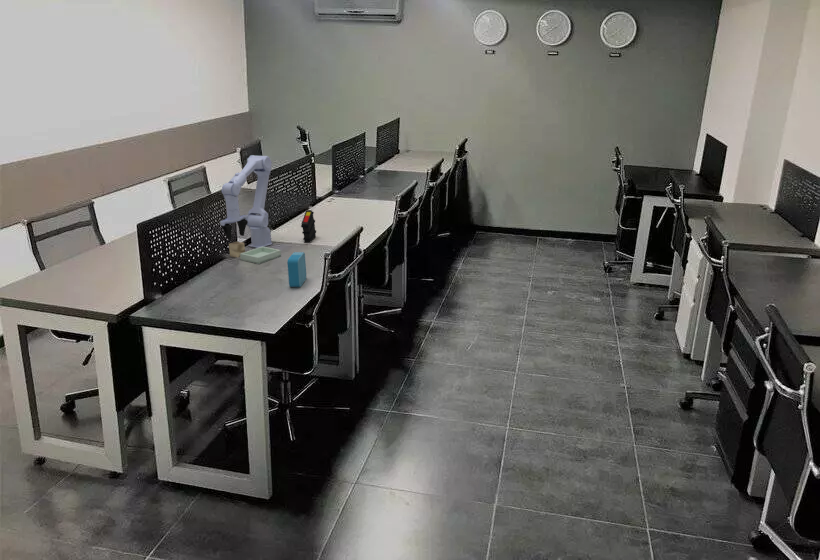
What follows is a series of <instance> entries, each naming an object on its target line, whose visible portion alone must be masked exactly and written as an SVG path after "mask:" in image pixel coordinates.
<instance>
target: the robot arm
mask: <svg viewBox="0 0 820 560" xmlns="http://www.w3.org/2000/svg"><path fill="white" fill-rule="evenodd" d="M272 163H273V162H272V160H271V157H270V156H268V155H256V154H255V155H254V154H251V155H249V157H247V160H246V164H245V166H244V167H243V168H242V170H241V171H240V172H235V173H234V175H233V176H232V177H231V178H230V180H229V181H228V182H225V183H224V184H223V185H222V186H221V193H222V195H223V199H225V207H226V218H225V219H222V220H219V221H220V222H219V224H220V225H219V226H220V228H222V230H223V231H224V234H225V236H226V238H227V240H229V241H231V240H232V238H233V237H232V229H233V225H230V224H234V223H237V226H238V232H239V233H238V234H239V236H242V237H244V236H245V231H246V227H248V229H249V230H250V239H251V240H250V241H251V244H248V245H247V247H251V248H254V249H256V248H259V247H262V246H263V247H268V246H270V245H273V243H274V242H272V234H271V233H272V232H271V230H270V227H268V226H269V213H268V212H267V211H266V210H265V205H266V198H267V192H268V185H269V180H270V179H269V178H270V174H271V171H272V165H273V164H272ZM252 173H255V174H256V176H257V179H256V187H255V192H254V193H255V194H254V200H253V204H252V205H253V206H252V208H250V209H249V210H248V212H247V214H243V215H240V214H241V211H240V204H239V195H240V194H241V189H242V187H243V186H244V184H245V183H246V182H247V178H248V176H250V174H252Z"/></svg>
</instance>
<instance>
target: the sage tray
mask: <svg viewBox="0 0 820 560" xmlns="http://www.w3.org/2000/svg"><path fill="white" fill-rule="evenodd" d="M277 257H278V258H281V257H282V250H281V249H276V248H273V247H268V246H265V247H263V246H262V247H259V248H253V249H250V250H247V251H245V252H244V253H241V254H240V257H239V258H240V261H243V262H248V263H252V264H253V263H254V264H257V265H261V264H264V263H266V262H268V261H272V260H274V259H277Z"/></svg>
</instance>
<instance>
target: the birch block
mask: <svg viewBox="0 0 820 560" xmlns="http://www.w3.org/2000/svg"><path fill="white" fill-rule="evenodd" d="M228 248H229V257H232V258H236V257H237V258H240V254H241V253H244V252H246V248H245V242H241V241H234V242H231V243H230V242H229V243H228ZM237 258H236V259H237Z"/></svg>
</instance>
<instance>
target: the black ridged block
mask: <svg viewBox="0 0 820 560" xmlns="http://www.w3.org/2000/svg"><path fill="white" fill-rule="evenodd" d="M314 213H315V212H314V211H313V210H311V209H310V210H309V209H306V210H305V213H304V215H303V217H302V221H301V225H300V228H302V235H303V238H302V240H303V242H304V243H307V244H310V243H312V241H313V240H314V239H316V234H317V230H316V225H315V223H316V219H315V218H314Z"/></svg>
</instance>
